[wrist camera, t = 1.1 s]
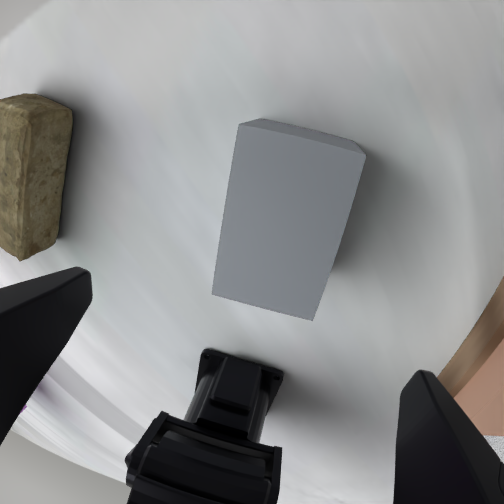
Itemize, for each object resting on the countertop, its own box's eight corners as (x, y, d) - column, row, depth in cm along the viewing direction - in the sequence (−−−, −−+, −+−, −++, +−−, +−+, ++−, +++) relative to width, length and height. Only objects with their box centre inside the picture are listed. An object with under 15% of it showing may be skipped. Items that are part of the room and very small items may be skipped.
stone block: (83, 102, 17) (29, 111, 13) (64, 244, 23) (24, 274, 19) (32, 89, 17) (-18, 97, 13) (21, 218, 23) (-19, 242, 19)
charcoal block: (315, 270, 19) (312, 320, 15) (236, 249, 20) (211, 294, 16) (353, 140, 16) (366, 154, 11) (260, 118, 16) (238, 124, 12)
